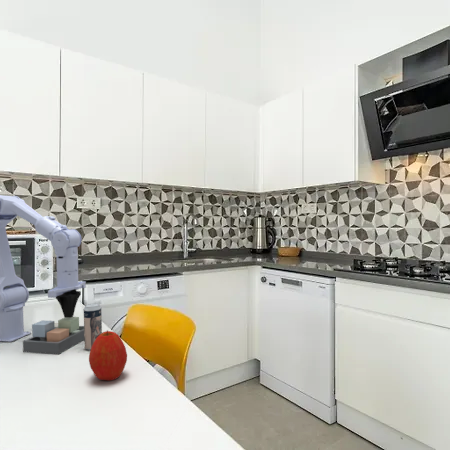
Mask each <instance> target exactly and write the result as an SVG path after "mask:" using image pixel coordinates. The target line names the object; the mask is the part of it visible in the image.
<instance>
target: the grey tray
mask: <svg viewBox="0 0 450 450" xmlns="http://www.w3.org/2000/svg"><path fill="white" fill-rule="evenodd" d="M82 342H84V325H79V329H77V330H75V331H73V332H71V333H69V337H67V338H65V339H63V340H61V341H59V342H47V337H32V336H31V337H29V338H27V339H24V340H23V341H22V351H23V353H30V354H31V353H32V354H47V355H60V354H62V353H64V352H65V351H67V350H69V349H71V348H72V347H75V346H76V345H78V344H80V343H82Z"/></svg>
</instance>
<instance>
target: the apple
mask: <svg viewBox="0 0 450 450" xmlns="http://www.w3.org/2000/svg"><path fill="white" fill-rule="evenodd" d="M127 361H128V353H127V349H126V346H125V343H124V342H123V339H122V338H121V337H120V336H119V334H117V333H116V332H114V331H111V330H110V331H109V330H106V331H102V333H101V334H100V335H99V336H98V337H97V338H96V340H95V341H94V343H93V345H92V348H91V350H89V355H88V362H89V367H90V369H91V371H92V372H93V374H94V376H95V377H96V378H97V379H98V380H102V381H113V380H117V378H119V377H120V376H121V375H122V373H123V372H124V369H125V367H126V364H127Z"/></svg>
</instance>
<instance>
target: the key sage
mask: <svg viewBox="0 0 450 450" xmlns="http://www.w3.org/2000/svg"><path fill="white" fill-rule="evenodd" d="M57 323H58V328H64V329H69V333H71V332H73V331H75V330H77V329H79V326H80V316H73V317H71V318H65V317H63V318H60V319H58V320H57Z"/></svg>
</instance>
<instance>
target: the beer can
mask: <svg viewBox="0 0 450 450" xmlns="http://www.w3.org/2000/svg"><path fill="white" fill-rule="evenodd" d="M102 322H103V321H102V307H101V305H100V303H88V304H86V305H85V306H84V307H83V326H84V340H83V343H84V349H85V350H88V351H90V350H91V348H92V345H93V343H94V341H95V340H96V338H97V337H98V336H99V335H100V334H101V333H103V326H102V325H103V323H102Z"/></svg>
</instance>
